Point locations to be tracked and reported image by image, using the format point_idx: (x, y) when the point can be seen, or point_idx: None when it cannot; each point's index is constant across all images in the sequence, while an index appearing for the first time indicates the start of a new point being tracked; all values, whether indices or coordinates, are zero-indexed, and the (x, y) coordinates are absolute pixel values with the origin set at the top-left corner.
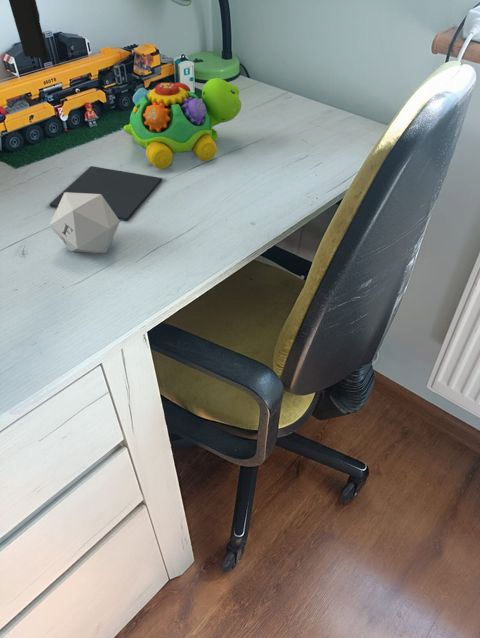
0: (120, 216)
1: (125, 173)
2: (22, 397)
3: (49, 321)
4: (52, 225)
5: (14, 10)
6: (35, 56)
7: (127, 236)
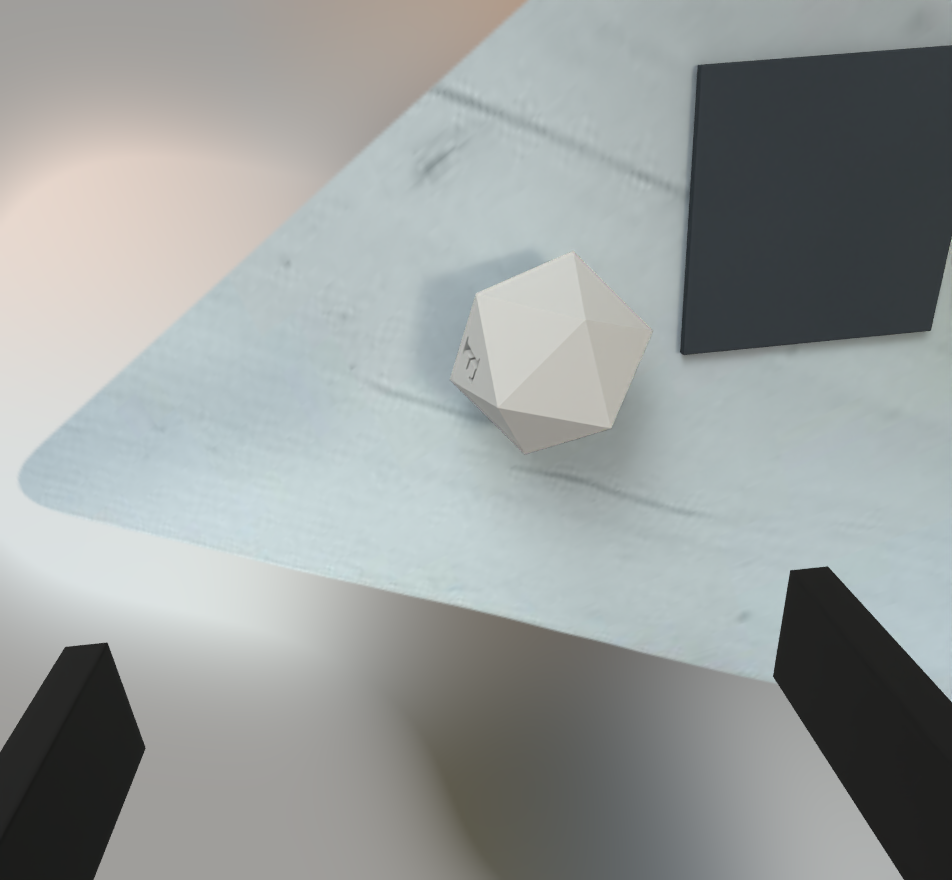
0: (687, 333)
1: (948, 203)
2: (33, 497)
3: (233, 412)
4: (476, 306)
5: (948, 793)
6: (784, 632)
7: None
